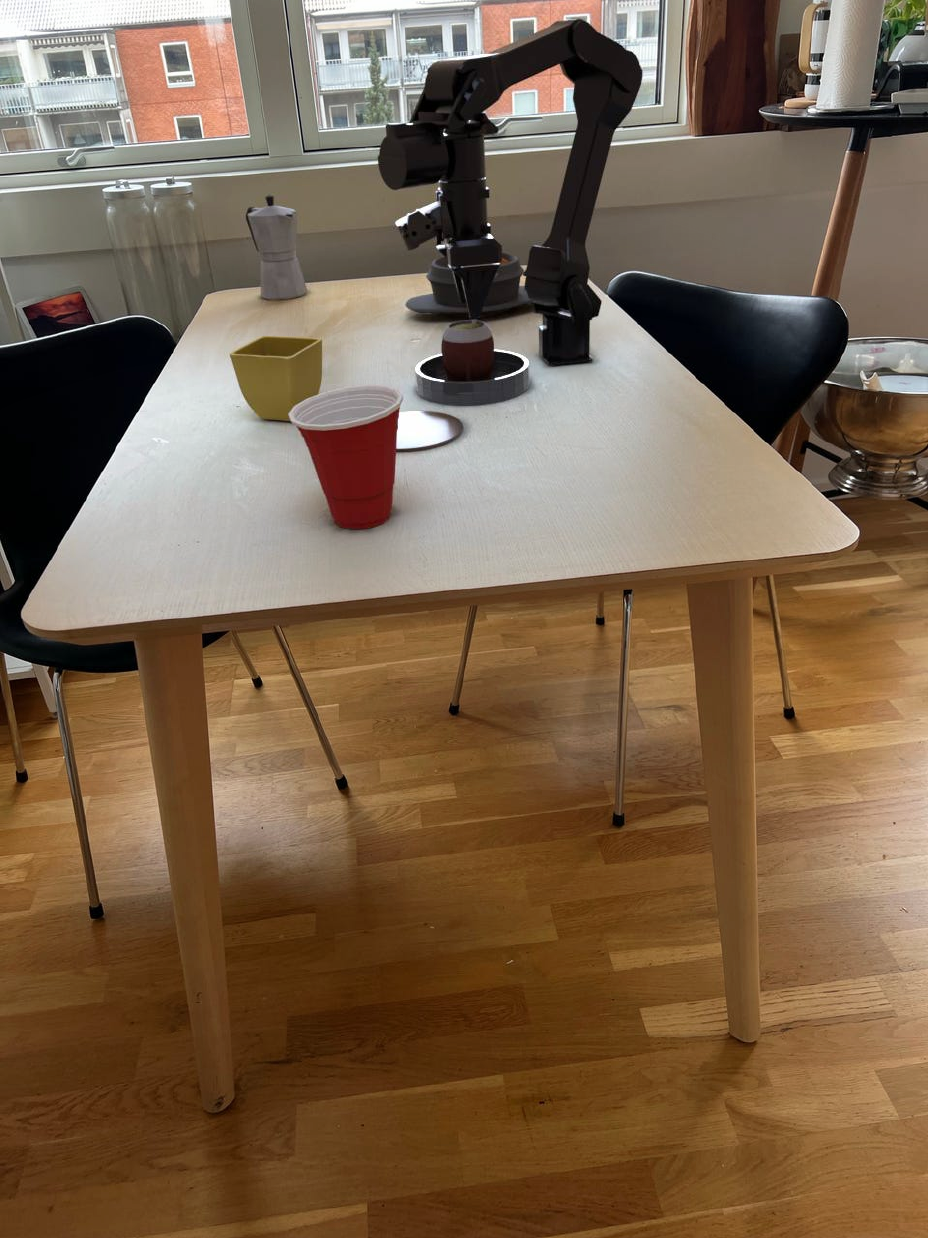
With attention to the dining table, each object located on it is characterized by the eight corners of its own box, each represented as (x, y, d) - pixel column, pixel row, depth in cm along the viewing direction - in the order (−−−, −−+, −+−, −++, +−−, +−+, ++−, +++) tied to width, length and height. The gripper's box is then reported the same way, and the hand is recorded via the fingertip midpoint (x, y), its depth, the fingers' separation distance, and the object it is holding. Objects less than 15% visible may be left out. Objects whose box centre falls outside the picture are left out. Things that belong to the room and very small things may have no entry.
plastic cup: (308, 500, 97) (291, 387, 91) (412, 491, 98) (401, 378, 92) (302, 546, 88) (281, 424, 82) (416, 536, 88) (404, 414, 82)
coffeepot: (323, 293, 182) (310, 193, 173) (283, 303, 177) (268, 200, 168) (278, 284, 192) (263, 189, 183) (239, 293, 187) (222, 196, 177)
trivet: (455, 409, 119) (455, 406, 119) (470, 445, 108) (470, 442, 108) (354, 419, 118) (353, 416, 118) (358, 456, 107) (357, 453, 107)
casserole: (531, 291, 173) (530, 244, 169) (560, 314, 158) (560, 262, 153) (398, 305, 170) (394, 257, 165) (415, 330, 154) (411, 277, 150)
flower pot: (332, 405, 123) (323, 337, 119) (302, 428, 116) (291, 356, 112) (274, 402, 126) (262, 335, 121) (240, 424, 119) (227, 353, 114)
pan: (517, 366, 134) (517, 345, 132) (539, 398, 121) (539, 375, 119) (412, 376, 132) (410, 355, 131) (423, 410, 120) (421, 387, 118)
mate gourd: (445, 377, 130) (437, 264, 122) (501, 375, 129) (497, 261, 122) (442, 394, 124) (434, 276, 116) (502, 392, 123) (497, 273, 115)
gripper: (391, 176, 121) (402, 300, 129) (402, 194, 105) (414, 334, 113) (476, 169, 121) (481, 293, 130) (500, 186, 106) (505, 326, 114)
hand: (469, 310), depth 121 cm, fingers open, 9 cm apart
